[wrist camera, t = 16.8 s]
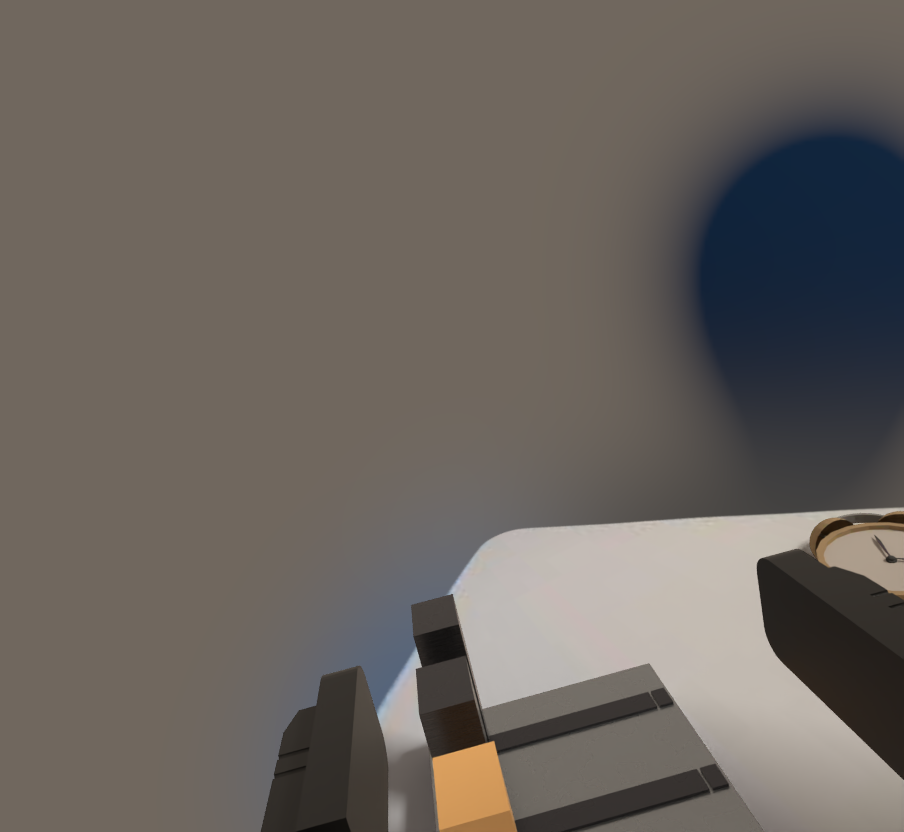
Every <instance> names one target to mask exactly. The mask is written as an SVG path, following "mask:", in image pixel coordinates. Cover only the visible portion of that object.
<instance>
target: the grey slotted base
mask: <svg viewBox="0 0 904 832" xmlns="http://www.w3.org/2000/svg"><path fill="white" fill-rule="evenodd" d="M411 608H412V622H413V635H414V640H415V643H416V647H417V650H418V654H419V658H420V661H421V665H422V668H418V669H416V677H417V690H418V704H419V715H420V719H421V722H422V726H423V729H424V733H425V736H426V740H427V743H428V747H429V757H430V768H431V779H432V791H433V802H434V814H435V825H436V832H440V831H439V823H438V812H437V801H436V791H435V780H434V770H433V759H432V758H435V757H438V756H442V755H445V754H449V753H453V752H456V751H460V750H463V749H467V748H471V747H474V746H478V745H481V744H485V743H489V742H492V741H494V743H495V747H496V751H497V755H498V759H499V762H500V766H501V770H502V774H503V778H504V782H505V786H506V790H507V794H508V797H509V801H510V805H511V809H512V813H513V817H514V821H515V825H516V829H517V832H764V831H763V829H762V828H761V826H760V825H759V824H758V822H757V821H756V819H755V818H754V816H753V815H752V813H751V812H750V810H749V809H748V807H747V806H746V804H745V803H744V802H743V800H742V799H741V797H740V796H739V794H738V793H737V791H736V790H735V788H734V787H733V785H732V784H731V783H730V781H729V780H728V778H727V777H726V775H725V774H724V772H723V771H722V769H721V768H720V766H719V765H718V764H717V762H716V761H715V759H714V758H713V756H712V755H711V753H710V752H709V750H708V749H707V747H706V746H705V744H704V743H703V742H702V740H701V739H700V737H699V736H698V734H697V733H696V731H695V730H694V728H693V727H692V725H691V724H690V723H689V721H688V720H687V718H686V717H685V715H684V714H683V712H682V711H681V709H680V708H679V706H678V705H677V704H676V702H675V701H674V699H673V698H672V696H671V695H670V693H669V692H668V690H667V689H666V687H665V686H664V684H663V683H662V682H661V680H660V679H659V677H658V676H657V674H656V673H655V671H654V670H653V668H652V667H651V665H650V664H645V665H641V666H638V667H634V668H630V669H627V670H623V671H620V672H616V673H612V674H609V675H605V676H601V677H598V678H594V679H591V680H587V681H583V682H580V683H576V684H572V685H569V686H565V687H561V688H558V689H554V690H551V691H547V692H543V693H540V694H536V695H532V696H529V697H525V698H522V699H518V700H514V701H511V702H507V703H503V704H500V705H496V706H493V707H489V708H485V709H482V706H481V702H480V698H479V694H478V690H477V686H476V683H475V679H474V675H473V671H472V667H471V663H470V659H469V655H468V652H467V648H466V644H465V640H464V636H463V632H462V628H461V624H460V621H459V617H458V613H457V609H456V605H455V601H454V597H453V594H451V595H447V596H443V597H440V598H436V599H432V600H428V601H425V602H421V603H417V604H414V605H411Z"/></svg>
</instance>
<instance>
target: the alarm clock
mask: <svg viewBox="0 0 904 832" xmlns="http://www.w3.org/2000/svg"><path fill="white" fill-rule="evenodd" d="M852 523H863V524H858V525H853V524H852ZM810 548H811V551H812V553H813V554H814V556H815V557H816V558H817V559H818V561H819V562H821V563H822V564H824V565H825V566H827V567H828V568H829V567H833V566H836V567H839V568H842V569H845V570H848V571H852V572H855V573H858V574H861V575H864V576H866V577H867V578H869V579H871V580H872V581H874V582H876V583H877V584H879V585H880V586H882V587H884V588H885V589H887V591H888V593H893V594H895V595H897V596H898V597H900V598H901V599H903V600H904V511H896V512H892V513H889V514H886V515H885V516H884V515H880V514H872V513H857V514H849V515H844V516H840V517H837V518H829V519H826V520H824V521H822V522H820V523H819V524H818V525H817V526H816V527H815V528H814V530H813V531H812V533H811V536H810Z"/></svg>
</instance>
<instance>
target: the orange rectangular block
mask: <svg viewBox="0 0 904 832" xmlns="http://www.w3.org/2000/svg"><path fill="white" fill-rule="evenodd" d="M432 759H433V770H434V780H435V791H436V801H437V812H438V823H439V831H440V832H517V829H516V825H515V821H514V817H513V813H512V809H511V805H510V801H509V797H508V794H507V790H506V786H505V782H504V778H503V774H502V770H501V766H500V762H499V759H498V755H497V751H496V747H495V743H494V741H492V742H489V743H485V744H481V745H478V746H474V747H471V748H467V749H463V750H460V751H456V752H453V753H449V754H445V755H442V756H438V757H435V758H432Z"/></svg>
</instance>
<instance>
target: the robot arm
mask: <svg viewBox="0 0 904 832" xmlns="http://www.w3.org/2000/svg"><path fill="white" fill-rule="evenodd" d="M757 576H758V583H759V591H760V598H761V606H762V613H763V621H764V628H765V632H766V636H767V639H768V641H769V643H770V645H771V647H772V649H773V651H774V653H775V654H776V656H777V657H778V658H779V659H780V661H781V662H782V663H783V664H784V665H785V666H786V667H788V668H789V669H790V670H791V671H792V672H793V673H794V674H795V675H796V676H797V677H798V678H799V679H800V680H801V681H802V682H803V683H804V684H805V685H806V686H807V687H808V688H809V689H810V690H811V691H812V692H813V693H814V694H815V695H816V696H817V697H819V698H820V699H821V700H822V701H823V702H824V703H825V704H826V705H827V706H828V707H829V708H830V709H831V710H832V711H833V712H834V713H835V714H836V715H837V716H838V717H839V718H840V719H841V720H842V721H843V722H844V723H845V724H846V725H847V726H849V727H850V728H851V729H852V730H853V731H854V732H855V733H856V734H857V735H858V736H859V737H860V738H861V739H862V740H863V741H864V742H865V743H866V744H867V745H868V746H869V747H870V748H871V749H872V750H873V751H874V752H875V753H876V754H877V755H878V756H880V757H881V758H882V759H883V760H884V761H885V762H886V763H887V764H888V765H889V766H890V767H891V768H892V769H893V770H894V771H895V772H896V773H897V774H898V775H899V776H900V777H901V778H902V779H903V780H904V600H903V599H901V598H900V597H898V596H897V595H895V594H893V593H888V591H887V589H885V588H884V587H882V586H880V585H879V584H877V583H876V582H874V581H872V580H871V579H869V578H867V577H866V576H864V575H861V574H858V573H855V572H852V571H848V570H845V569H842V568H839V567H836V566H833V567H829V568H828V567H827V566H825V565H824V564H822V563H821V562H819V561H818V560H816V559H815V558H813V557H811V556H810V555H808V554H807V553H805V552H804V551H802V550H799V549H794V550H791V551H787V552H783V553H779V554H776V555H772V556H768V557H765V558H761V559H760V560H759V561H758V563H757ZM278 756H279V760H277V764H276V768H275V772H274V776H275V779H273V781H272V786H271V790H270V795H269V798H268V803H267V807H266V811H265V816H264V820H263V825H262V829H261V832H388V761H387V753H386V747H385V742H384V737H383V733H382V730H381V727H380V723H379V720H378V717H377V713H376V710H375V707H374V704H373V700H372V697H371V694H370V691H369V687H368V684H367V681H366V677H365V674H364V672H363V670H362V668H361V666H356V667H353V668H349V669H345V670H342V671H338V672H334V673H331V674H326V675H323V676H322V678H321V682H320V687H319V693H318V700H317V705H316V706H313V707H310V708H306V709H303V710H299V711H298V713H297V714H296V715H295V717H294V718H293V720H292V722H291V723H290V724H289V726H288V727H287V729H286V730H285V732H284V733H283V738H282V742H281V746H280V751H279V755H278Z"/></svg>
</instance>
